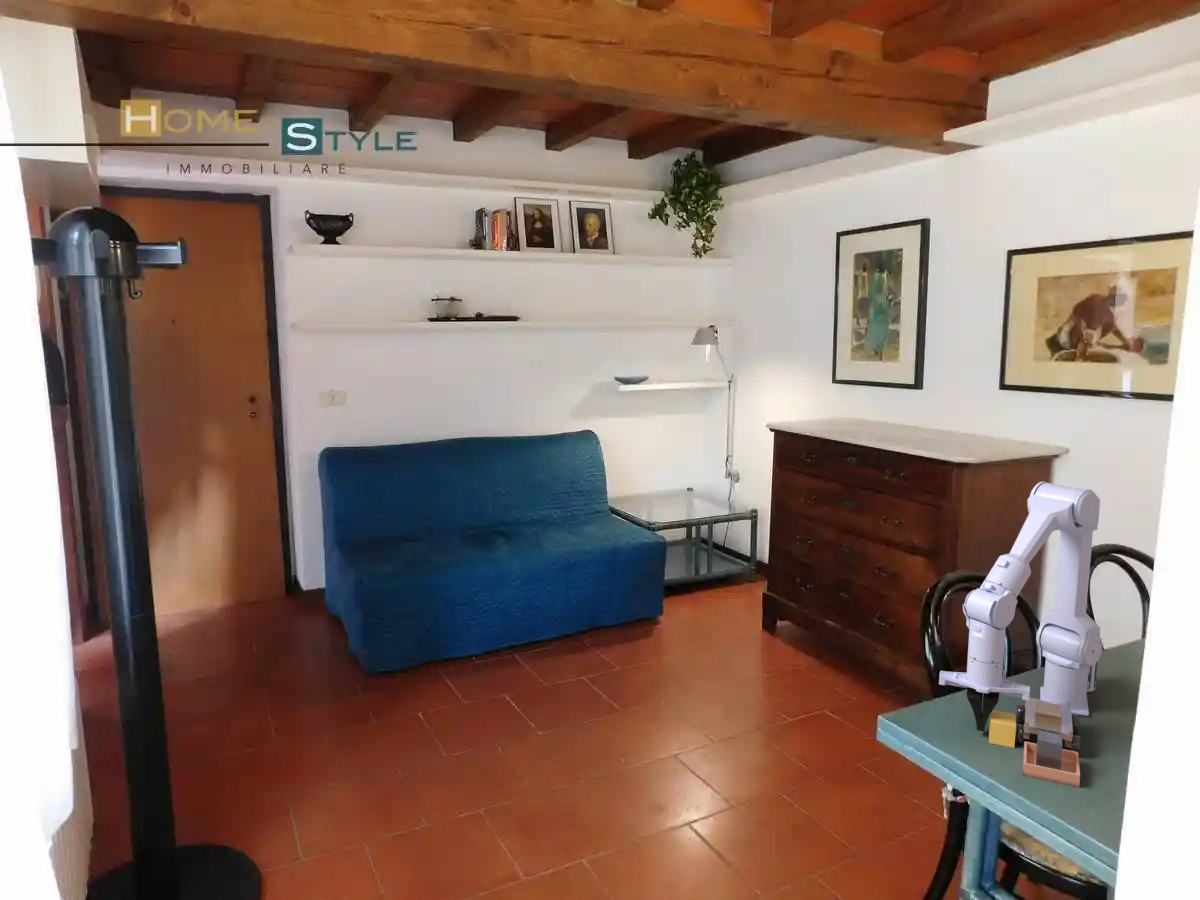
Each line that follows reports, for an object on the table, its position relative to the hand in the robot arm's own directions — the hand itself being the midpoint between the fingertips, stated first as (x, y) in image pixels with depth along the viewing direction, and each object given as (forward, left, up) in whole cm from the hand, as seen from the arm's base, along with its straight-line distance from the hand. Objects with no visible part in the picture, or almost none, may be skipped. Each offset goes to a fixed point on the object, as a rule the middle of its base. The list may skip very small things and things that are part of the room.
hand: (980, 728), depth 146 cm
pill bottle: (-30, +17, -1) cm, 34 cm away
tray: (+7, +11, -1) cm, 13 cm away
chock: (0, +3, -1) cm, 4 cm away
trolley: (-4, +11, -1) cm, 11 cm away
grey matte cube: (+7, +11, -1) cm, 13 cm away
